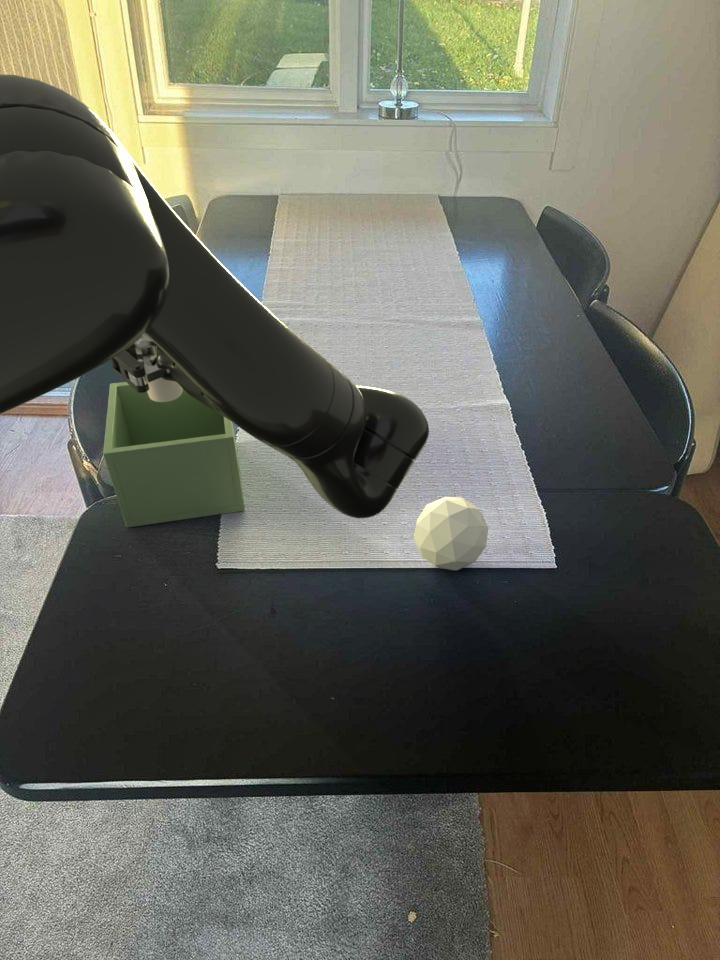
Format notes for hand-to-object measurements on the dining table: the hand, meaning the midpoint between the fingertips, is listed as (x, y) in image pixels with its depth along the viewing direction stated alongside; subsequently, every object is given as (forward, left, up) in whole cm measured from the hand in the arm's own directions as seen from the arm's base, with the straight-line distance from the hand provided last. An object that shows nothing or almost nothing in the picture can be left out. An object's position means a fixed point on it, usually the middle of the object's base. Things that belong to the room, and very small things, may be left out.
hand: (138, 321), depth 74 cm
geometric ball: (+34, -12, -21) cm, 42 cm away
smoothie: (+2, -1, -8) cm, 9 cm away
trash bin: (+2, -1, -21) cm, 21 cm away
